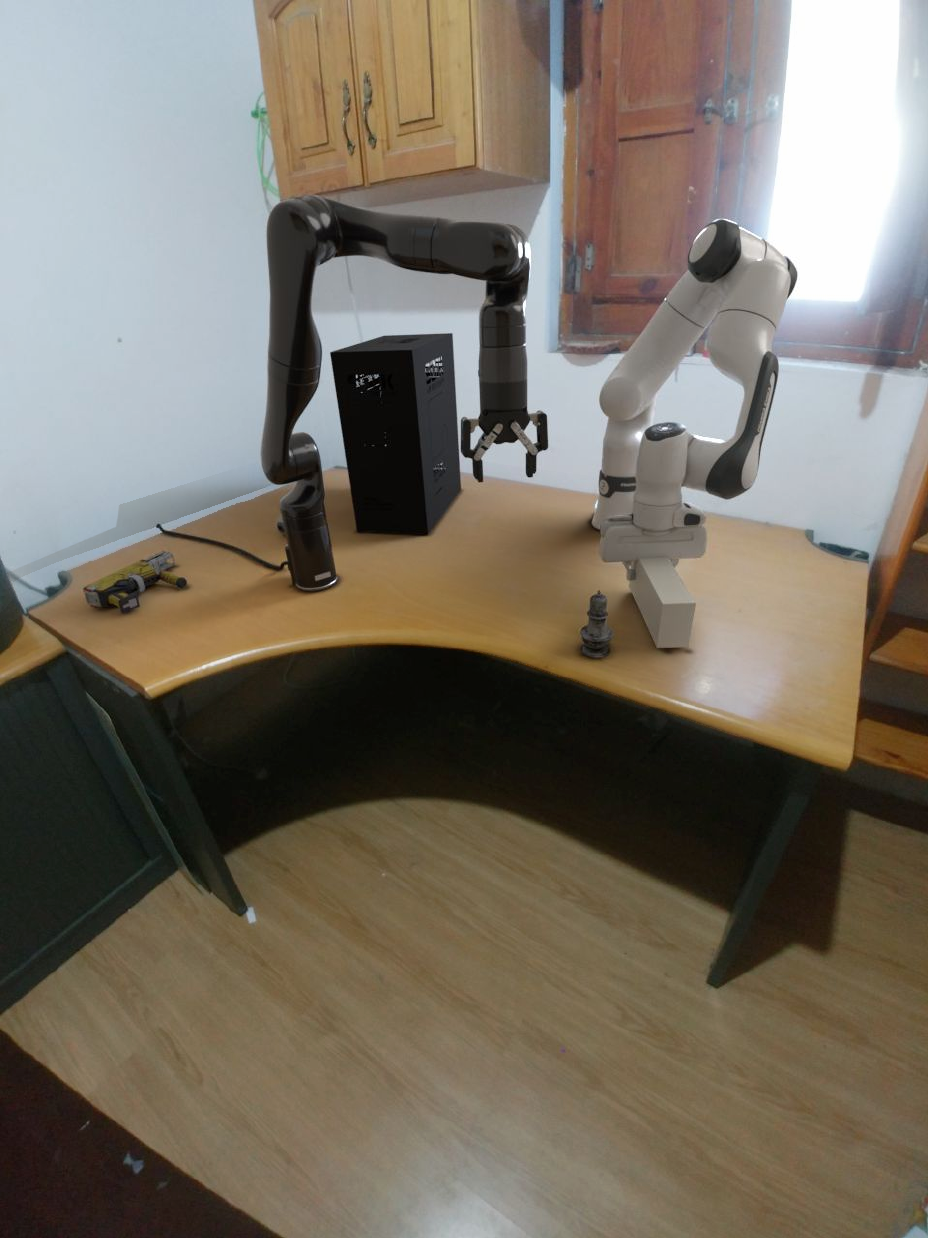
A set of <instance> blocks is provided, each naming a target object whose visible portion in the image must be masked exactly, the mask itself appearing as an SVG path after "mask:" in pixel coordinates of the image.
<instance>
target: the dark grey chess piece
mask: <svg viewBox="0 0 928 1238" xmlns="http://www.w3.org/2000/svg"><path fill="white" fill-rule="evenodd" d="M607 608H608V598H607V596H606V595H605V594H603V593H602V590H600V589H599V590H597V591H596V593H595V594H592V595H590V599H589V609H588V610H587V612H586V615H587V617H588V620H587V621H588V622H587V624H586V625H584V626H582V627H581V628H579V636H580V638H581V641H582V644H581V645H580V648H579V649H580V652H581V653H582V654H583V655H585V656H587V657H589V658H594V659H597V658H604V657H607V656H609V654H610V653H611V647H610V646H609V644H610V643H611V640H612V638H614V631H613V629H611V628H610V627H609V626H607V618H608V617H609V612H608V611H607Z"/></svg>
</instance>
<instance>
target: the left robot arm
mask: <svg viewBox="0 0 928 1238" xmlns="http://www.w3.org/2000/svg"><path fill="white" fill-rule="evenodd" d="M265 231H266V235H265V236H266V238H265V239H266V255H267V268H268V269H267V270H268V283H269V284H268V287H269V309H268V310H269V315H268V317H269V318H268V320H269V321H268V342H267V360H266V361H267V362H266V363H267V364H266V365H267V367H266V371H267V372H266V373H267V375H266V376H267V377H266V378H267V379H266V381H267V382H266V402H265V403H266V405H265V414H264V422H263V428H262V435H261V440H260V441H261V443H260V464H261V468H262V472H263V473H264V476H265V478H266V479H267V481H269V482H270V483H271V484H273V485H277V486H283V485H288V484H293V483H295V484H294V486H293V487H292V488H291V490H289V492H288V493H287V494H285V495H284V496H283V497H282V498H281V499H280V501H279V511H280V514H281V515H282V520H283V525H284V529H285V534H284V535H285V539H286V543H287V545H285V547H284V552H285V556H286V560H285V561H282V562H281V563H280V565H275V564H273V563H270V562H268V561H266V560H263V559H262V558H259V557H257V556H256V555H254V554H252V553H251V552H249V551H246V550H243V549H241V548H239V547H238V546H237V547H236V546H235V545H231V544H229V543H226V542H222V541H218V540H214V539H211V538H210V539H209V538H205V537H201V536H195V535H190V534H187V533H180V532H175V531H170V530H167V529H164V527H162V524H160V523H157V524H156V528H155V529H159V531H161V532H162V533H164V534H167V535H171V536H176V537H180V538H186V539H191V540H196V541H200V542H203V543H204V542H205V543H209V544H213V545H217V546H222V547H225V548H227V549H230V550H233V551H236V552H238V553H240V554H243V555H245V556H247V557H249V558H251V559H252V560H254V561H256V562H258V563H260V564H262V565H264V566H266V567H268V568H270V569H273V570H278V571H282V570H283V569H284V568H285V566H287V569H288V571H289V574H290V578H291V583H292V586H294V587H296V589H298V590H300V591H303V592H311V593H312V592H319V591H323V590H324V591H325V590H327V589H330V588H332V587H334V585H336V584H337V583H338V581H339V580H338V575H337V569H336V564H335V558H334V553H333V547H332V541H331V535H330V530H329V524H328V519H327V513H326V512H327V511H326V507H325V499H326V493H325V485H324V478H323V477H324V476H323V467H322V466H323V465H322V459H321V455H320V451H319V447H318V445H317V443H316V441H315V439H314V438H313V437H312V435H310V434H309V433H308V432H305V431H304V432H303V431H300V432H299V431H298V432H295V433H293V431H294V429H295V426H296V424H297V422H298V420H299V419H300V417H301V416H302V414H304V412H305V410H306V408H307V407H308V406H309V404H310V403H311V401H312V399H313V398H314V396H315V394H316V392H317V391H318V388H319V385H320V378H321V371H322V369H321V368H322V361H323V345H322V341H321V336H320V333H319V331H318V328H317V324H316V323H315V320H314V316H313V310H312V299H313V290H314V288H313V287H314V282H315V276H316V271H317V268H318V267H319V266H321V265H323V264H325V263H327V262H329V261H331V260H332V259H335V258H342V257H367V258H374V259H378V260H380V261H383V262H384V263H387V264H390V265H393V266H395V267H397V268H400V269H404V270H409V271H412V272H418V273H419V272H420V273H426V274H427V273H429V274H434V275H435V274H436V275H454V276H459V277H463V278H467V279H472V280H477V281H484V282H485V291H484V292H485V293H484V295H485V296H484V301H483V303H482V305H481V306H480V308H479V312H478V337H479V338H478V339H479V353H478V370H477V376H478V386H479V387H478V388H479V416H478V417H477V418H468V417H467V416H462V417H461V419H460V453H461V455H462V456H463V457H464V458H465V459H471V461H472V462H471V463H472V475H473V478H474V479H475V480H477V482H478V483H484V465H483V464H484V461H483V456H484V455H485V454H486V452H487V451H488V450H489V449H490V448H491V447H492V444H495V445H502V444H505V443H508V444H514V443H516V442H517V441H519V442H520V443H521V445H522V446H523V447H524V448H525V449H526V452H525V476H526V477H527V478H534V474H536V473H537V461H538V460H537V458H538V457H537V456H538V454H539V453H540V452H542V451H547V450H548V449H549V431H548V414H546V413H545V412H544V411H542V410H537V411H536V412H533V413H529V411H528V355H527V354H528V353H527V344H526V343H527V321H526V320H527V319H526V305H527V300H528V294H529V293H528V292H529V286H530V285H529V284H530V277H531V265H532V263H531V262H532V259H531V258H532V257H531V256H532V255H531V246H530V242H529V239H528V237H527V235H526V234H525V232H524V231H523V230H522V229H521V228H520V227H519V226H516V225H515V224H510V223H509V224H508V223H502V222H490V221H458V220H455V219H451V218H447V217H441V216H440V217H439V216H428V215H419V214H407V213H392V212H384V211H383V212H382V211H381V212H380V211H376V210H370V209H365V208H361V207H356V206H353V205H349V204H346V203H344V202H341V201H337V200H334V199H330V198H328V197H324V196H321V195H317V194H313V193H305V194H301V195H297V196H294V197H291V198H287V199H284V200H282V201H279V202H278V203H276V204H275V205H274V206H273V207H272V209H271V211H270V212H269V215H268V217H267V222H266V230H265ZM530 422H532V425H533V426H535V428H536V429H535V430H536V442H535V443H533V441H532V440H531V439H530V438H529V436H528V435H527V434H526V432H525V430H526V429H527V427H528V426H529V424H530ZM476 427H479V428H480V430H481V431H482V433H481V435H480V437H479V438H478V440H477V443H476V445H475V446H474V447H473V449H472V448H471V443H472V442H471V440H472V439H471V437H472V436H471V435H472V434H473V433H474V432H475V431H476Z"/></svg>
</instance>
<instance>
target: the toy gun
mask: <svg viewBox="0 0 928 1238" xmlns="http://www.w3.org/2000/svg"><path fill="white" fill-rule="evenodd" d="M170 559H172V562H169V561H168V560H170ZM175 565H176V563H175V557H174V553H172V552H171V551H167V550H162V551H159V552H158V553H155V554H154V555H151V556H149V557H148V558H145V559H140V560H139V561H136V562H134V563H132V564H130V565H128V566H126V567H124V568H121V569H119V570H117V571H115V572H113V573H110V574H109V575H106V576H104V577H102V578H100V579H98V580H95V581H94V582H91V583H89V584H87V585H85V586H84V587H83V588H82V590H83V594H84V596H85V601H86V603H87V604H88V605H89V606H90V607H91V608H94V609H97V608H107V607H108V608H109V607H112V606H116V607H118V608H119V610H120V614H121V615H122V614H123V615H124V614H127V613H129V612H131V611H133V610H135V609H138V608H140V607H141V606H140V602H139V597H138V595H140V594H142V593H144V592H145V591H146V588H147V587H149V586H151V585H154V584H157V583H159V581H163V582H165V583H168V584H169V585H172V586H176V587H177V588H178V589H183V588H186V587H187V586H188V580H187V579H186V578H185V577H183V576H180V575H176V574H174V573H172V572H170V571H167V570H169V569H170V568H172V567H175Z"/></svg>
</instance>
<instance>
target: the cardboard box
mask: <svg viewBox="0 0 928 1238" xmlns="http://www.w3.org/2000/svg"><path fill="white" fill-rule="evenodd" d="M454 353H455V352H454V334H453V332H451V333H450V332H447V333H420V334H419V333H417V334H416V333H415V334H391V335H388V334H387V335H382V336H381V335H380V336H378V337H375V338H372V339H368V340H365V341H361V342H359V343H356V344H353V345H349V346H345V347H343V348H342V347H341V348H339V349H336V350H333V351H330V352H329V355H330V361H331V362H330V363H331V369H332V375H333V381H334V382H333V383H334V388H335V396H336V401H337V408H338V415H339V422H340V426H341V427H340V429H341V436H342V441H343V449H344V456H345V461H346V468H347V475H348V481H349V482H348V483H349V488H350V495H351V496H350V497H351V501H352V508H353V515H354V522H355V528H356V532H358V533H379V534H402V535H406V534H407V535H425V536H426V535H427V536H428V535H430V534H431V532H432V530H433V529H434V527H435V526H436V525H437V523H438V522H439V521H440V519H441V518H442V516H443V515H444V514H445V513H446V511H447V509H448V508H449V507H450V506H451V504H452V503H453V501H454V500H455V499H456V498H457V496H458V495H459V493H460V492H461V491H462V481H461V461H460V443H459V427H458V426H459V425H458V409H457V391H456V390H457V389H456V388H457V387H456V371H455V356H454V355H455V354H454ZM433 361H434V363H433Z"/></svg>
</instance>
